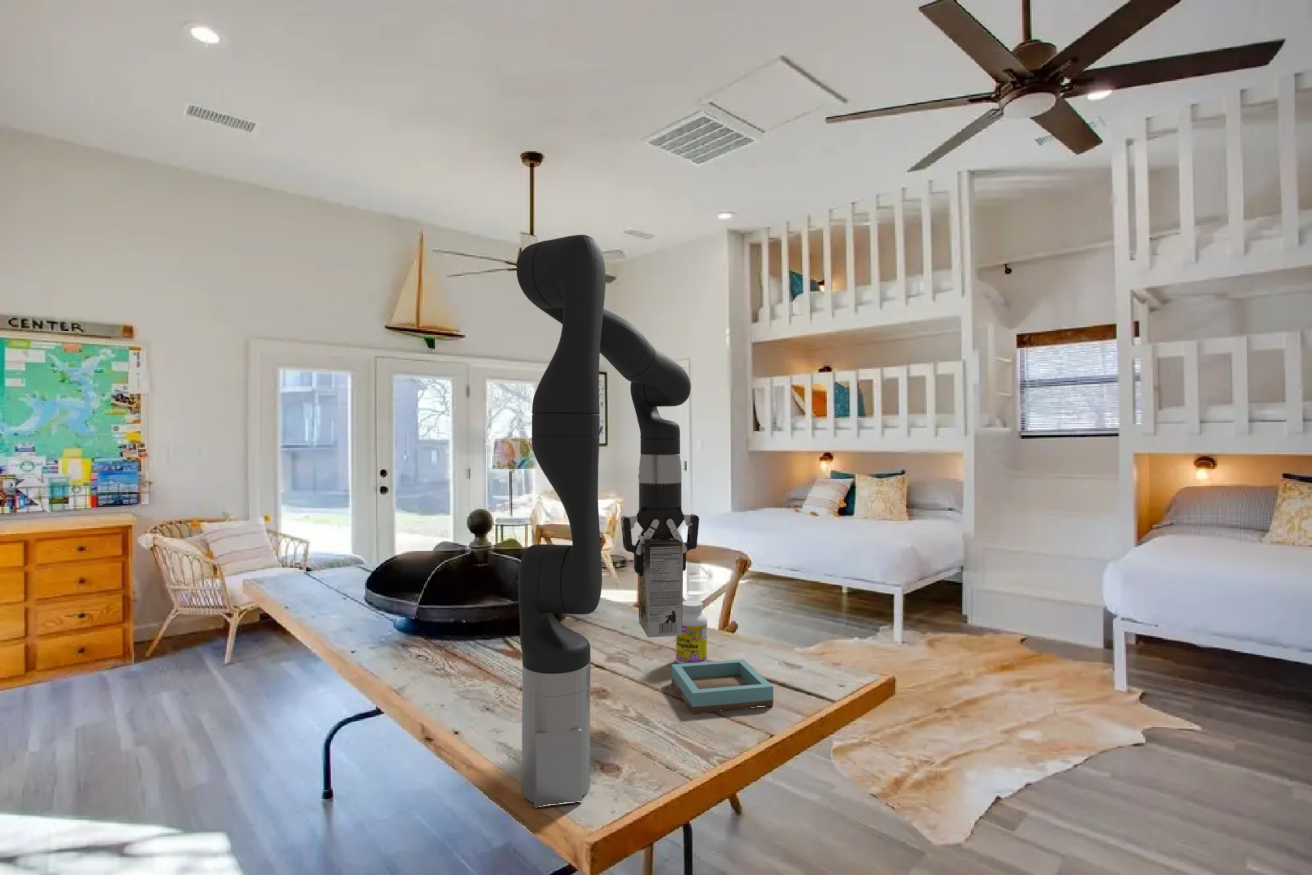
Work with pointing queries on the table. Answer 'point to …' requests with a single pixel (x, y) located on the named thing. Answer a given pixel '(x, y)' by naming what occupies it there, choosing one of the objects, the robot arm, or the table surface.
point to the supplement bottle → (692, 634)
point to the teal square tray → (721, 686)
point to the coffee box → (661, 588)
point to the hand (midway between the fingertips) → (660, 574)
